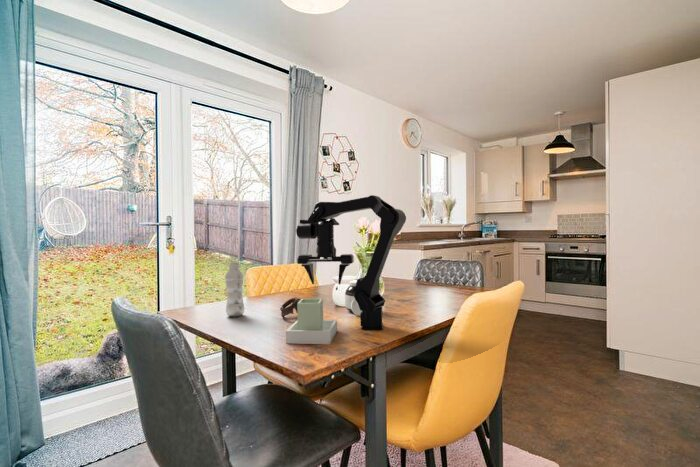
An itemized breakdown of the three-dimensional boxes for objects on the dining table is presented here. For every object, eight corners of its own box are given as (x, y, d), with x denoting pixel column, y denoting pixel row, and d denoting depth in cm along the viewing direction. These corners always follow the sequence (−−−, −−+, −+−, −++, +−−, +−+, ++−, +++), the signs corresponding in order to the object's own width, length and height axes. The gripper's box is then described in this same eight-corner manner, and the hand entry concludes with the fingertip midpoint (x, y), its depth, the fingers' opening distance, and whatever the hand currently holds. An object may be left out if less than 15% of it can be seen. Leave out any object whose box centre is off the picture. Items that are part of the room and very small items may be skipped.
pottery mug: (309, 322, 124) (297, 303, 122) (286, 333, 125) (274, 314, 124) (313, 306, 136) (302, 288, 134) (292, 316, 137) (281, 299, 135)
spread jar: (361, 307, 143) (361, 278, 143) (381, 312, 134) (381, 281, 134) (338, 312, 135) (337, 282, 135) (357, 318, 126) (357, 285, 126)
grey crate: (337, 331, 111) (337, 319, 111) (330, 344, 98) (329, 331, 98) (298, 330, 112) (297, 319, 112) (286, 343, 100) (285, 330, 100)
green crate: (323, 331, 108) (322, 298, 108) (320, 337, 101) (319, 303, 101) (302, 331, 108) (301, 298, 108) (297, 338, 102) (297, 303, 102)
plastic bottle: (241, 318, 129) (240, 263, 129) (223, 318, 129) (221, 263, 129) (247, 314, 136) (245, 261, 135) (229, 314, 136) (228, 262, 135)
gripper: (355, 237, 128) (355, 280, 129) (304, 238, 131) (305, 280, 131) (351, 238, 117) (352, 285, 118) (296, 239, 120) (297, 285, 120)
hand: (326, 284), depth 122 cm, fingers open, 9 cm apart
